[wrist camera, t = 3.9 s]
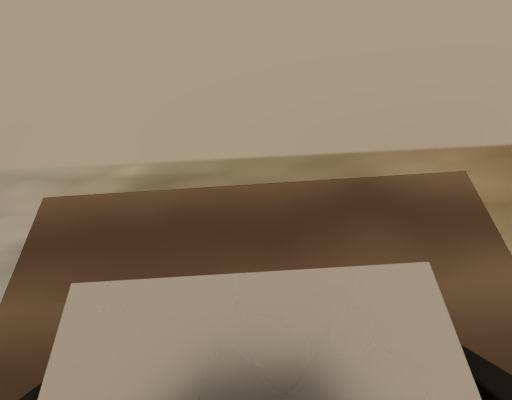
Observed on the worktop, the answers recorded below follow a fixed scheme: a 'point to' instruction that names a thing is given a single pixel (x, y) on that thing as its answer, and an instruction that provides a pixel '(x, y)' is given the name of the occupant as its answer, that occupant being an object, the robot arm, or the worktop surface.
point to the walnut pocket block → (259, 250)
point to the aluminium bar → (261, 338)
